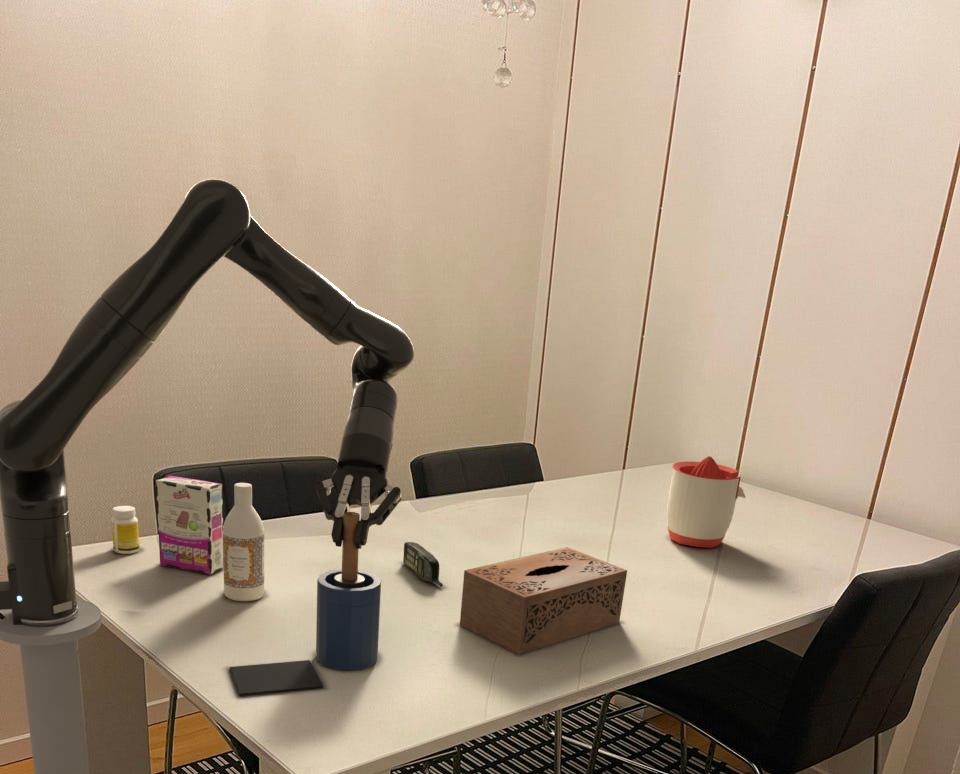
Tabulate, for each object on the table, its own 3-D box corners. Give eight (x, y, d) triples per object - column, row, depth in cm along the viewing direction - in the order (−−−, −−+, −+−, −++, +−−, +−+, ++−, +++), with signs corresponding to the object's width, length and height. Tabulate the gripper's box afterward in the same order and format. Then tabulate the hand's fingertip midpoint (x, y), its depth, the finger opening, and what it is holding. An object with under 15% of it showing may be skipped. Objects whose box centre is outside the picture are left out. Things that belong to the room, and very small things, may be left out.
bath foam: (218, 599, 168) (215, 487, 160) (231, 586, 175) (229, 477, 167) (257, 604, 168) (256, 492, 160) (269, 590, 174) (269, 481, 166)
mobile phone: (401, 540, 192) (433, 563, 180) (415, 539, 193) (447, 561, 181) (400, 564, 194) (431, 588, 182) (414, 563, 195) (446, 587, 183)
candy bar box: (225, 568, 183) (224, 483, 176) (211, 575, 179) (209, 489, 172) (173, 557, 186) (170, 473, 179) (158, 565, 181) (154, 479, 175)
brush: (337, 609, 145) (340, 519, 139) (330, 598, 149) (332, 510, 143) (367, 607, 146) (371, 518, 141) (359, 596, 150) (362, 509, 145)
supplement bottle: (144, 550, 188) (142, 508, 185) (125, 556, 184) (122, 513, 181) (127, 544, 190) (125, 503, 187) (108, 550, 186) (105, 508, 183)
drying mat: (239, 696, 136) (239, 693, 136) (229, 669, 144) (229, 666, 144) (323, 688, 141) (323, 685, 141) (309, 662, 148) (309, 660, 148)
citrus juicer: (738, 556, 217) (756, 469, 209) (661, 546, 219) (675, 459, 211) (733, 536, 232) (749, 454, 224) (660, 527, 234) (673, 445, 226)
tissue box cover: (518, 654, 158) (524, 597, 154) (459, 624, 167) (464, 570, 163) (619, 622, 174) (627, 570, 170) (560, 597, 184) (567, 547, 180)
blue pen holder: (324, 673, 145) (326, 592, 140) (310, 647, 153) (311, 570, 148) (384, 667, 149) (388, 588, 144) (367, 643, 157) (370, 567, 152)
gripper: (317, 426, 145) (296, 528, 138) (410, 435, 144) (392, 538, 138) (325, 453, 152) (305, 552, 145) (413, 462, 151) (396, 561, 145)
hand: (348, 544), depth 142 cm, fingers closed on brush, 2 cm apart
